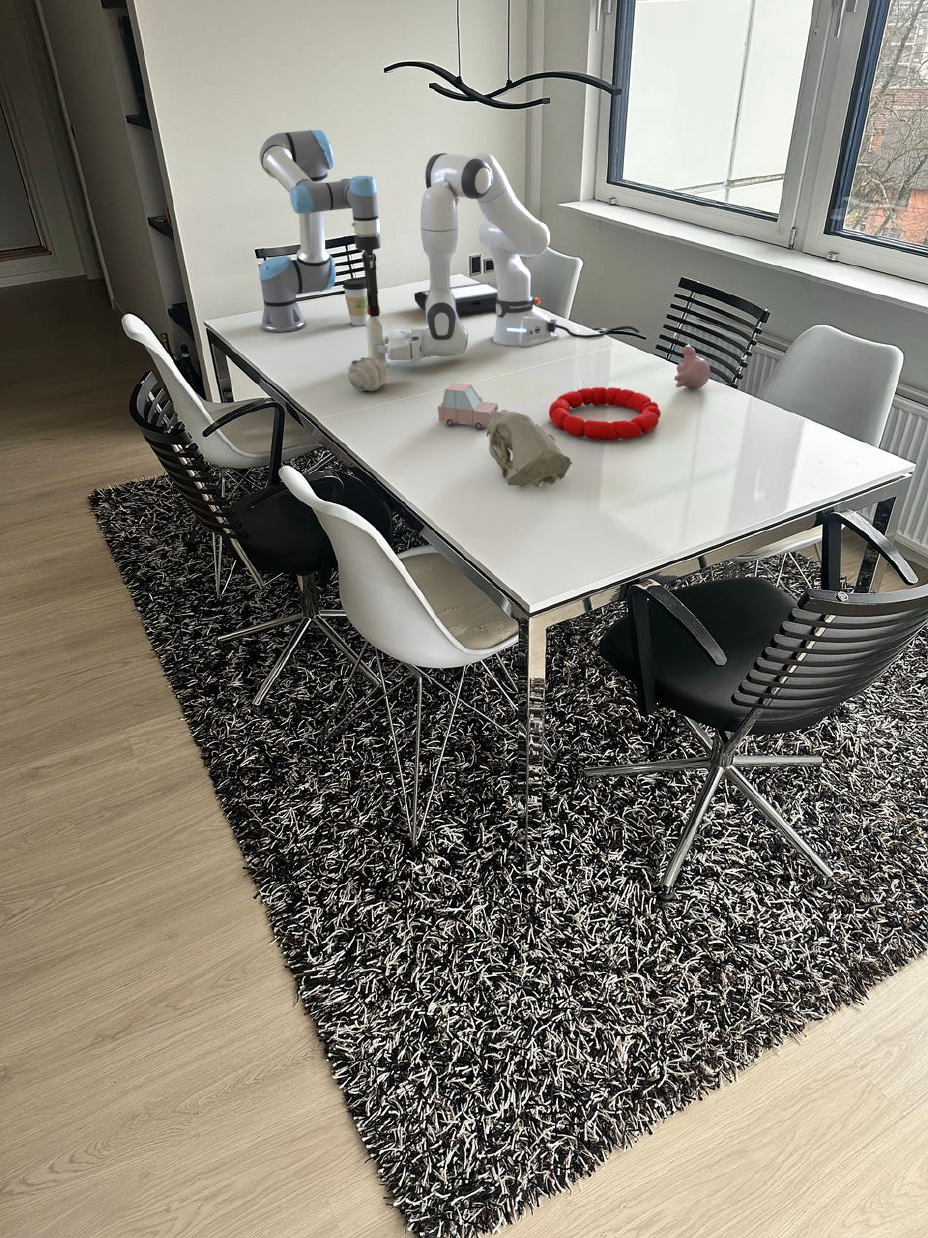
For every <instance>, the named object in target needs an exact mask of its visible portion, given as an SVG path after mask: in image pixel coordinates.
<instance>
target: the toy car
mask: <svg viewBox="0 0 928 1238" xmlns="http://www.w3.org/2000/svg"><path fill="white" fill-rule="evenodd" d="M498 409H499V404H498V403H497V402H490V401H489V402H487V401H483V397H481V396H480V395H479V394H478V393H477V391H476V390H475V389H474V386H472V384H469V383H459V382H451V383H450V384H449V385H448V386H447V387H446V388H445V389H444V394H443V399H442V403H440V404H439V405H438V406H437V413H438V421H439V422H443V423H446V425H447V426H448V427H452V426H454V425H455V424H461V425H469V426H473V427H475V429H476V430H479V431H480V430H481V429H483V428H485V427H486V428H487V423H488V422H490V414H491V413H492V412H496V411H499V410H498Z"/></svg>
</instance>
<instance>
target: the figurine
mask: <svg viewBox="0 0 928 1238" xmlns="http://www.w3.org/2000/svg"><path fill="white" fill-rule="evenodd" d="M682 354H683V358H684V359H683V361H682V362H679V363H678V364H677V365H676V372H677V375H675V376H674V381H675V382H676V381H677V382H676V384H675V386H676V388H681V387H686V388H688V389H693V390H694V389H695V390H696V389H700V388H703V387H704V386H705V385H706V384H707V383H708V382H709V379H710V377H711V367H710V364H709V362H708V361H706V359H704V358H702V357H700V356H697V353H696V350H695V349H694V347H692V345H690V344H686V345H685V346H684V347H683V348H682Z"/></svg>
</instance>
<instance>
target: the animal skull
mask: <svg viewBox="0 0 928 1238" xmlns="http://www.w3.org/2000/svg"><path fill="white" fill-rule="evenodd" d="M485 436H486V438H487V437H489V438H488V440H489V444H488V445H489V446H488V450H489V454H490V456H491V457H492V458H493V459H494V460H495V462H496V464H497V466H499V468H500V470H501V471H502V472H501V478H502V479H507V480H506V484H507V486H517V487H518V486H519V488H523V489H524V488H526V486H527V485H529V483H531V485H533V486H534V487H536V488H540V485H541V484H542V482H544V483H549V484H550V485H553V484H555V483H556V482H557V480H561V479H563V478H565V476H566V474H567V472H568V471H569V469H570V467H571V466H572V464H573V462H572V461H571V458H570V457H568V456H567V455H565V453H564V451H562V449H561V448H560V446H559V444H557V443H556V439H555V438H554V436H553V435H551V434H550V433H548V432H547V431H546V430H545V429H544V428H542V427H541V426H539V425H538V424H537V423H536V424H535V422H534V421H533V419H532V418H531V417H530V416H529V415H527V414H524V413H519V412H515V411H509V410H507V409H502V410H500V411H499V410H497V411H496V412H492V413H491V414H490V422H488V423H487V427H486V435H485ZM511 453H512V454H511ZM511 455H512V457H513V458H512V460H511ZM507 474H508V475H507Z"/></svg>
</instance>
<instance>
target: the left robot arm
mask: <svg viewBox="0 0 928 1238" xmlns="http://www.w3.org/2000/svg"><path fill="white" fill-rule="evenodd" d="M334 159H335V158H334V153H333V149H332V145H331V143H330V140H329V137H328V136H327V134H326V133H325V132H324V131H323V130H320V129H313V130H312V129H308V130H299V131H288V132H278V133H274V134H272V135H270V136H269V137H268V138H267V139H265V141H264V142H263V144H262V146H261V148H260V152H259V162H260V165H261V167H262V169H263V170H264V171H265V173H266V174H267V175H268V176H270V178H273V179H276V180H277V181H278V182H279V184H281V186H282V187H283V188H284V189H285V190H286V191H287V192H288V193H289V199H290V200H289V201H290V204H291V207H292V210H293V211H294V213H295V214H298V221H299V222H298V223H299V224H298V225H299V243H300V249H298V250H297V251H296V259H292V258H291V257H290V256H288V255H281V256H280V255H279V256H275V257H271V258H268V259H265V260H263V261H262V262H261V263H260V265H259V266H258V273H259V274H258V275H259V280H260V287H261V292H262V299H263V313H262V319H261V326H262V330H264V331H265V332H271V333H286V332H293V331H296V330H297V331H298V330H300V329H302V328H304V326H305V319H304V317H303V314H302V312H301V310H300V307H299V306H298V305H299V304H298V303H297V295H304V294H310V293H311V294H312V293H318V292H319V293H322V292H324V291H328V290H330V289H332V288H334V285H335V283H336V279H337V278H336V277H337V270H336V263H335V260H334V258H333V257H332V256H331V255H330V252H329V251H328V250H327V249H326V238H325V237H326V235H325V234H326V233H325V212H329V211H338V210H339V211H340V210H346V209H351V210H352V211H351V212H352V220H353V222H352V223H351V227H353V231H354V234H355V236H354V244H355V245H354V246H355V249H356V250H358V251H363V252H362V254H361V259H362V264H363V269H364V276H365V277H364V278H365V280H366V283H365V284H366V286H367V287H366V289H367V299H368V306H369V307H370V315H369V317H376V316H378V317H380V314H379V307H380V306H379V307H378V305H379V296H378V295H379V289H378V278H377V255H376V253H374V251H375V250H378V249H380V248H381V247H382V246H381V235H380V234H379V233H380V232H381V230H380V229H381V227H380V219H379V218H380V217H379V206H378V189H377V184H376V178H374V177H373V176H372V175H355V176H352V177H350V178H341V179H340V180H339V181H330V182H325V181H326V179H327V178H328V170H331V169H333V168H334V163H335V161H334Z"/></svg>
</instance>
